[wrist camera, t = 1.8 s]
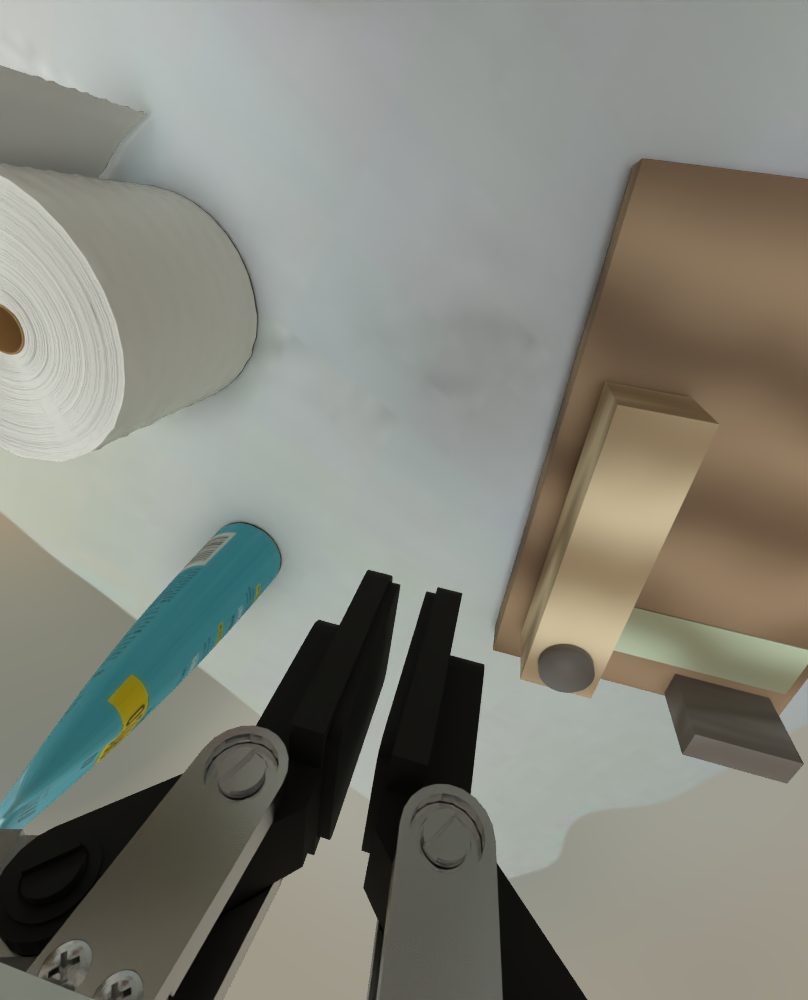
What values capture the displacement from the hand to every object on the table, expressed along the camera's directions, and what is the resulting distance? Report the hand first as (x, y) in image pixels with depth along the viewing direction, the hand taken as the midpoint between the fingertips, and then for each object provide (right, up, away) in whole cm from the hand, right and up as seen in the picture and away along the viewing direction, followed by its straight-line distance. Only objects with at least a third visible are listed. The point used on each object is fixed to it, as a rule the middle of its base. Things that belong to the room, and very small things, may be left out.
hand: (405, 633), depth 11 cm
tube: (-10, -1, +23) cm, 25 cm away
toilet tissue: (-13, +14, +16) cm, 25 cm away
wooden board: (+15, +4, +14) cm, 21 cm away
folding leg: (+10, +1, +14) cm, 17 cm away
